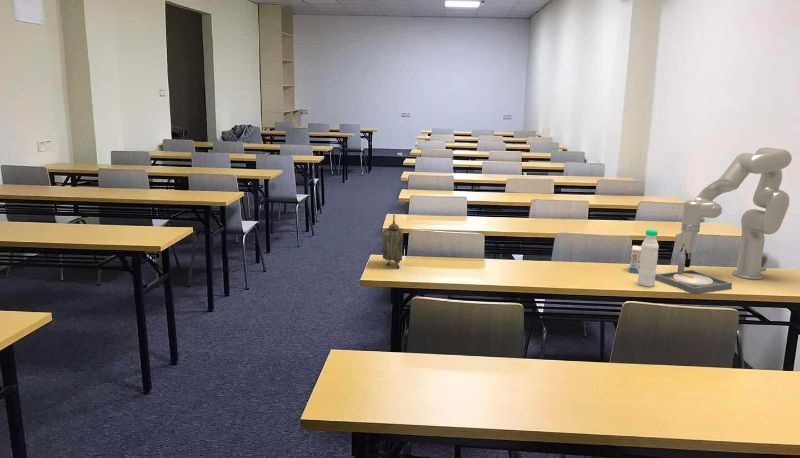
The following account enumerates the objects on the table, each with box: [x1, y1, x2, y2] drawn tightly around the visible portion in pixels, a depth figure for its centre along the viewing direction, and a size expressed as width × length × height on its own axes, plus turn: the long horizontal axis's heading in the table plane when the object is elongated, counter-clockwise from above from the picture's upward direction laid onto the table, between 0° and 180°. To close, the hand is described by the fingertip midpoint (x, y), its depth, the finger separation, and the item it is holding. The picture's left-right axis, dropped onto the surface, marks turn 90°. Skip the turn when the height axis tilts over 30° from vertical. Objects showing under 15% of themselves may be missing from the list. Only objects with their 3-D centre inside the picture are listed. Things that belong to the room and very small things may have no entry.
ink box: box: [628, 245, 642, 274], centre depth 288 cm, size 9×8×12 cm
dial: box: [673, 253, 713, 287], centre depth 269 cm, size 16×16×10 cm
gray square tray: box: [655, 269, 733, 295], centre depth 270 cm, size 22×22×3 cm
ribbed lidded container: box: [382, 214, 404, 269], centre depth 289 cm, size 14×9×25 cm, turn 179°
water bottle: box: [637, 228, 660, 288], centre depth 266 cm, size 7×7×25 cm
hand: (685, 266), depth 280 cm, fingers closed
